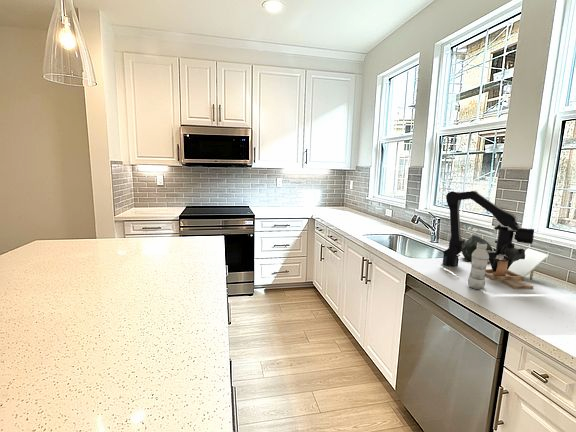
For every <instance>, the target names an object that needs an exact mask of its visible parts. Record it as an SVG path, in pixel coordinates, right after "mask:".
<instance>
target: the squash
mask: <svg viewBox="0 0 576 432" xmlns="http://www.w3.org/2000/svg"><path fill="white" fill-rule="evenodd" d="M478 242H480V243H486V244H487V249H486V250H490V251H493V248H492V246H491V244H490V243H489V242H488V241H487V240H485V239H484V238H482V237H480V236H478V235H474V234H473V235H472V236H470V237H469V238H468V239H467V240H465V247H464V249H463V251H462V252H461V254H462V256H463V257H464V259H466V260H468V261H471V262H472V253H473V251H474V250H476V249H477V247H476V246H477V243H478Z"/></svg>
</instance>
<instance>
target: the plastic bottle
mask: <svg viewBox="0 0 576 432" xmlns="http://www.w3.org/2000/svg"><path fill="white" fill-rule="evenodd" d="M476 247H477V249H476V250H474V251H473V253H472V261H471V269H470V272H469V276H468V278H467V285H468V287H469V288H471V289H474V290H480V291H481V290H483V289H485V287H486V276H485V270H486V269H487V266H488V263H489V260H488V259H489V254H488V252H487V251H486V249H487V244H486V243H480V242H478V243H477V246H476Z"/></svg>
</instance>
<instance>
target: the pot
mask: <svg viewBox="0 0 576 432" xmlns="http://www.w3.org/2000/svg"><path fill="white" fill-rule="evenodd" d="M498 259H500V260H499V261H498V263H497V268H496V272H493V276H506V272H507V266H508V260H506V259H504V258H503V257H502V258H501V257H498Z"/></svg>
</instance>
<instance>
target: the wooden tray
mask: <svg viewBox="0 0 576 432" xmlns="http://www.w3.org/2000/svg"><path fill="white" fill-rule="evenodd" d="M485 278H487V279H490V280H492V281H501V280H521V281H524V278H525V277H522V276H520V275H518V274H515V273H513V272H511V271H509V270H507V272H506V276H493V270H492V268H486V270H485Z"/></svg>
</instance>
